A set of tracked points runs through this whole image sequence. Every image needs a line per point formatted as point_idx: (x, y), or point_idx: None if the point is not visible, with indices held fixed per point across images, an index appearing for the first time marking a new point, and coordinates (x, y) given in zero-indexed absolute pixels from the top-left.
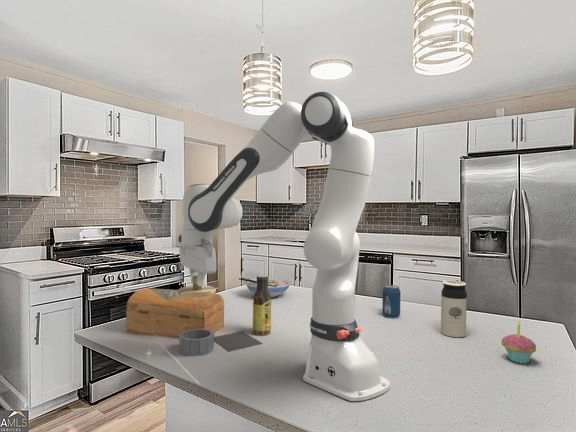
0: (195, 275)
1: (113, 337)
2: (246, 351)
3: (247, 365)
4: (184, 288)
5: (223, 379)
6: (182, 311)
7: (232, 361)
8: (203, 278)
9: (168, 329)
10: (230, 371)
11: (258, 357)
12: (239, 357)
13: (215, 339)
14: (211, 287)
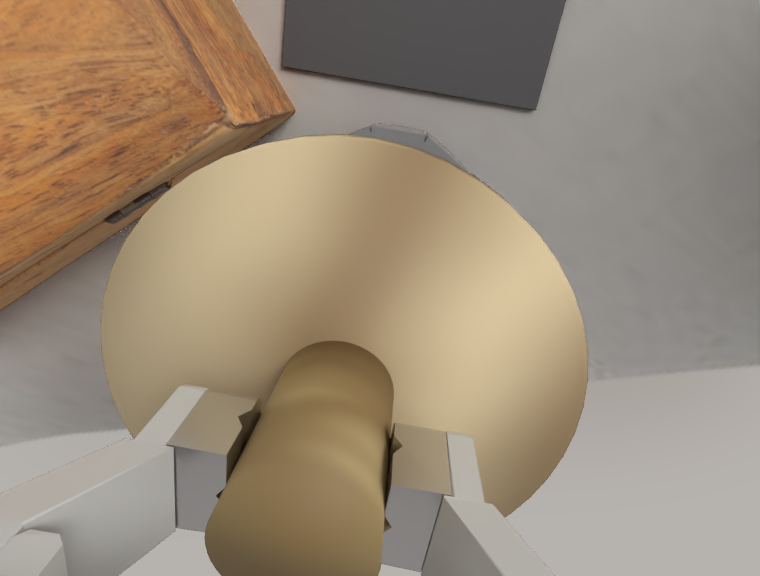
0: (140, 494)
1: (20, 386)
2: (598, 9)
3: (730, 133)
4: None
5: (726, 296)
6: (99, 216)
7: (630, 160)
8: (508, 539)
9: (108, 233)
10: (700, 233)
11: (719, 13)
12: (625, 100)
13: (328, 53)
14: (353, 181)
